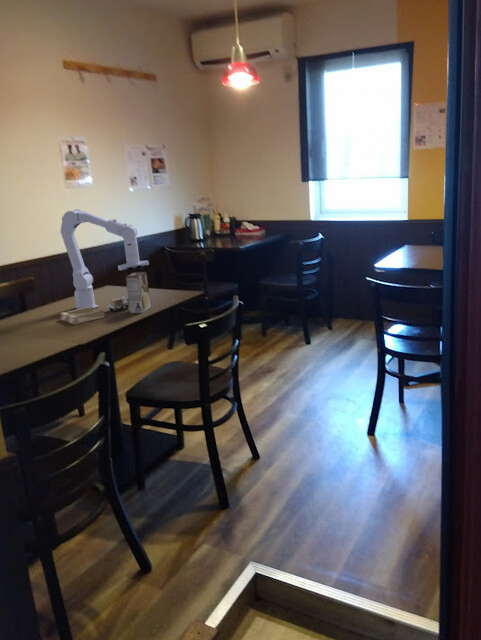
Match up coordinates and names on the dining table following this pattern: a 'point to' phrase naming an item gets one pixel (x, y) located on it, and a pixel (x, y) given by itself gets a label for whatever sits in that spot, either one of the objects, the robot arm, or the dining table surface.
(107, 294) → the dining table surface
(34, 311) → the dining table surface
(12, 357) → the dining table surface
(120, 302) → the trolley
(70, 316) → the dock bay
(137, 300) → the coffee box
